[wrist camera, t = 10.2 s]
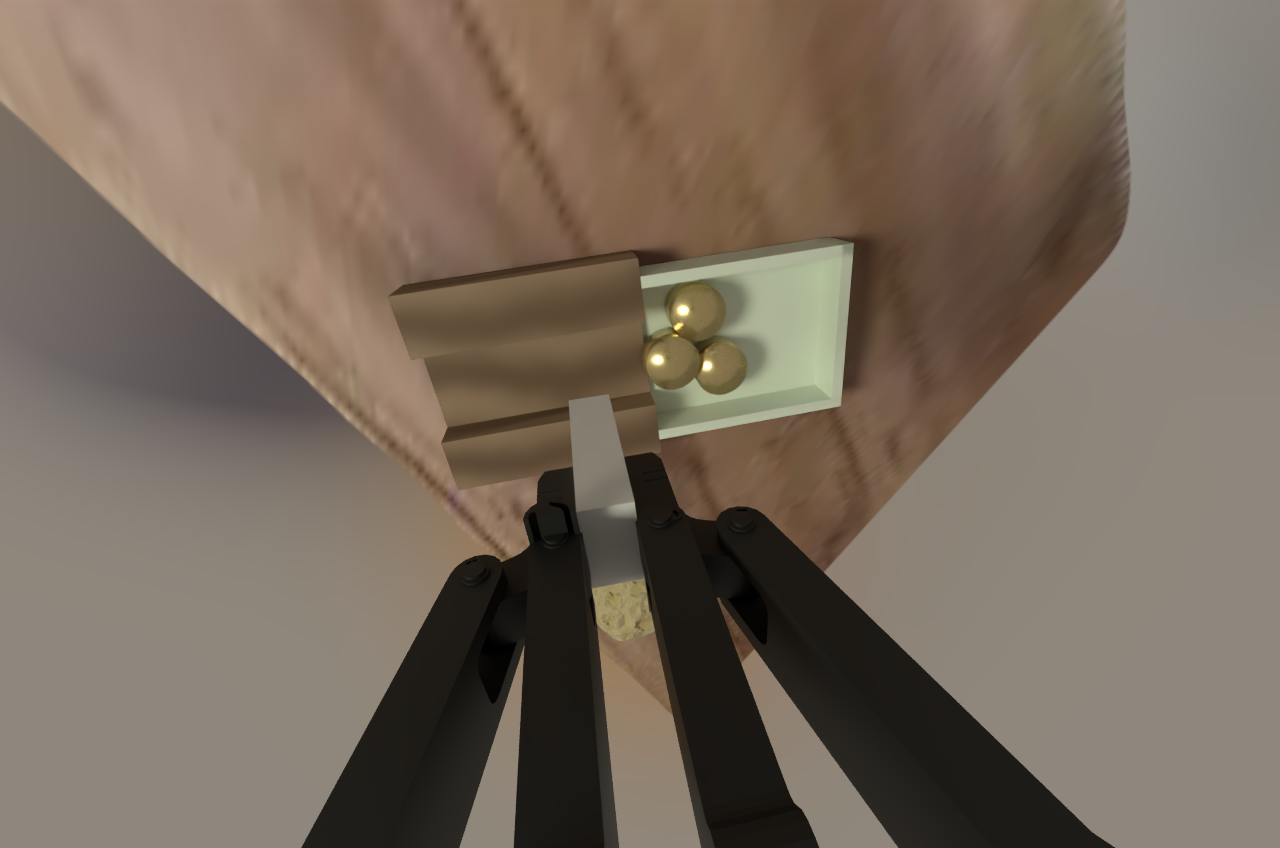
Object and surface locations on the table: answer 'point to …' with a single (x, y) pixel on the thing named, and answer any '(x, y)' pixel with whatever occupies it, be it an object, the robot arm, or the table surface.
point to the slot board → (530, 361)
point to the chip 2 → (669, 359)
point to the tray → (762, 331)
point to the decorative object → (623, 610)
